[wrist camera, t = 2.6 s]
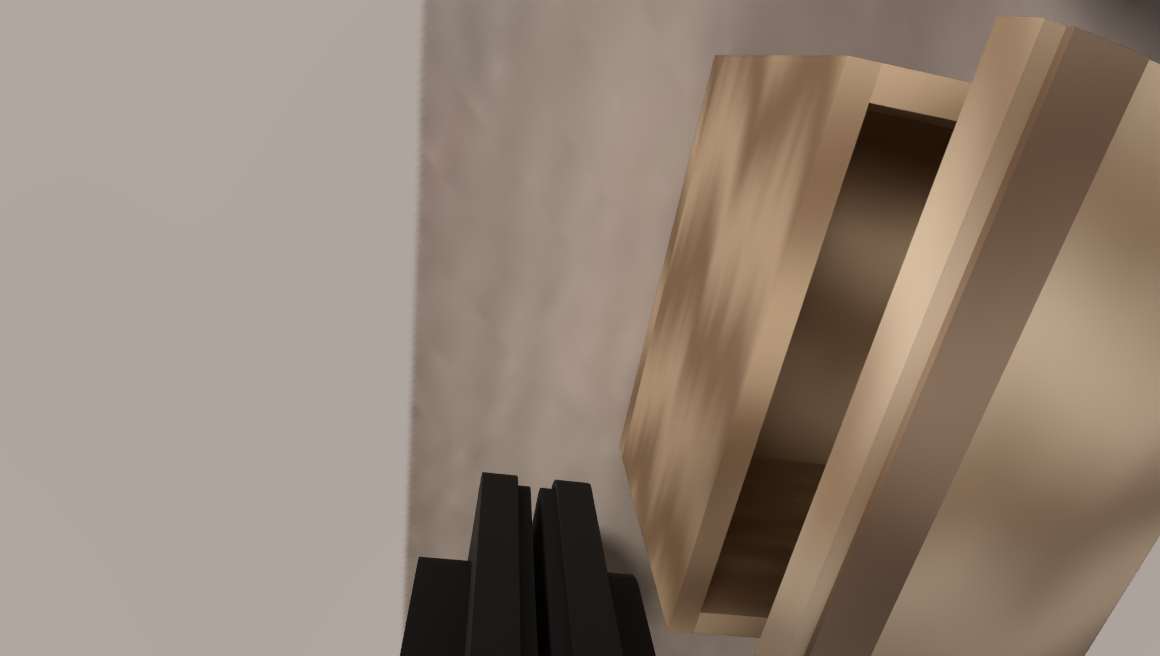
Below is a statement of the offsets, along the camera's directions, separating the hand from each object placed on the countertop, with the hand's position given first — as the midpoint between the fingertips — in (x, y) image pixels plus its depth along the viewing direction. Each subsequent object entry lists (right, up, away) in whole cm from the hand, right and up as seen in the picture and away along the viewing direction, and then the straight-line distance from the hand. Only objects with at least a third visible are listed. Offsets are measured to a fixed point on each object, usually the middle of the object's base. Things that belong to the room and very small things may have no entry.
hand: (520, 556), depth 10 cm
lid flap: (+11, 0, +5) cm, 12 cm away
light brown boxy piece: (+10, +5, +17) cm, 20 cm away
